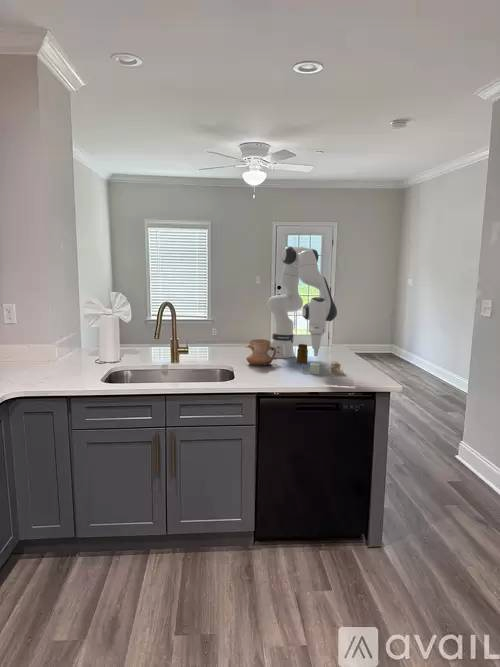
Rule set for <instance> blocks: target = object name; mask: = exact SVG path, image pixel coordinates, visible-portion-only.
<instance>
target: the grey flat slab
mask: <svg viewBox="0 0 500 667" xmlns="http://www.w3.org/2000/svg"><path fill="white" fill-rule="evenodd" d="M300 374H301V375H311V376H312V375H313V376H314V375H315V376H329V377H339V378H340V377H342V378H343V377H344V370H343V369H340V373H331V368H321V367H320V372H319V374H310V367H305V366H304V367H302V369H301V372H300Z"/></svg>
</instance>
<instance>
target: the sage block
mask: <svg viewBox="0 0 500 667" xmlns="http://www.w3.org/2000/svg"><path fill="white" fill-rule="evenodd" d="M309 364H310V365H309V368H310V374H309V375H311V374H319V372H320V368H321V367H320V366H321V363H320V362H310V363H309Z"/></svg>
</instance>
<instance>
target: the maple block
mask: <svg viewBox="0 0 500 667" xmlns="http://www.w3.org/2000/svg"><path fill="white" fill-rule="evenodd" d="M330 363H331V364H330V369H331V373H340V370H341V368H342V367H341V361H330Z"/></svg>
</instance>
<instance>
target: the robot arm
mask: <svg viewBox="0 0 500 667" xmlns="http://www.w3.org/2000/svg"><path fill="white" fill-rule="evenodd" d="M281 261H282V263H283V264H284V265H283V268H282V271H281V278H280V286H281V288H282V289H284V294H276V295H273V296H270V297H269V298H268V300H267V304H266V305H267V309H268V310H269V312H271V313H272V315H273V317H274V320H275V321H274V322H275V332H273V333H272V334H271V335H272V336H271V338H272V339H270V341H271V343H270V346H274V347H275V348H276V355H275V356H274V358H273V359H275V358H276V359H286V358H294V357H295V351H294V340H295V339H294V337H295V336H294V322H293V320H292V319H291V318H290V317H289V313H294V312H297V311H300V310H302V318H304V319H305V320H306V321H309V322H308V333H309V334H310V336H311V337H310V338H311V348H312V349H313V356H314V357H318V356H319V354H318V353H319V349H320V348H321V342H322V336H324V333H326V332H327V331H326V330H327V322H332V321H333V320H334V319H335V318H336V317H337V315H338V310H337V306H336V304H335V303H334V299H333V297H332V294H331V290H330V287H329V283H328V281H327V279H326V277H325V276H323V275H322V274H321V272H320V270H319V265H318V261H319V253H318V251H317V250H316V249H313V248H309V247H304V246H303V247H302V246H286V247H284V248H283V250H282V252H281ZM300 281H301V282H302V283H304V284H305V285H307V286H311V287H313V288H315V289H317V290H318V291H319V292H320V293H321V297H318V296H317V297H315V296H314V297H311V299H310V300H309V302H307V303H305V304H304V301H303V298H302V297H301V296H300V293H299V282H300ZM267 354H268V355H269V356H271V357H272V356H273V354H274V349H273V348H272V349H270V350H268V352H267Z"/></svg>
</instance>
